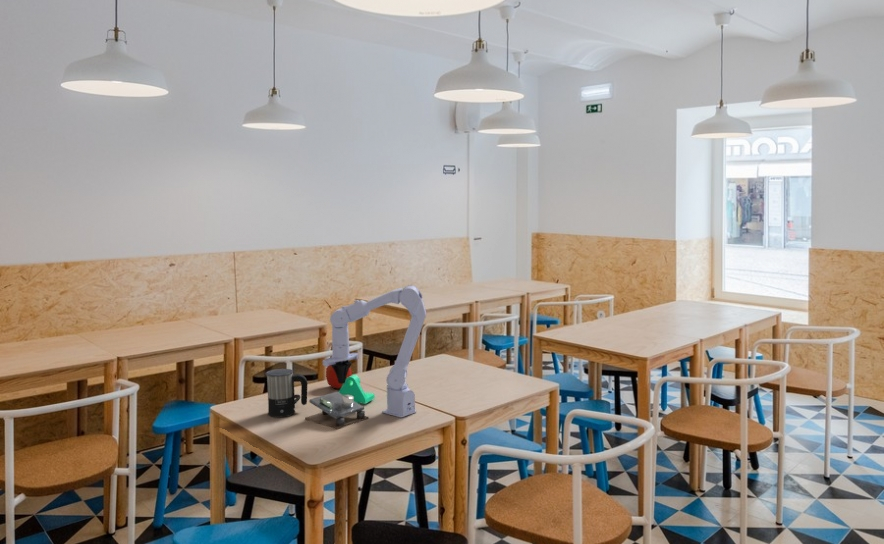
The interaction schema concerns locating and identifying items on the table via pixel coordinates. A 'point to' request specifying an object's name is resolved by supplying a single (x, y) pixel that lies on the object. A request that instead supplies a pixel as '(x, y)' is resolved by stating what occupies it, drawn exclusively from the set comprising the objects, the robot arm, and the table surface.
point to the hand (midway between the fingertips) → (341, 382)
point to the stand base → (333, 420)
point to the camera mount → (355, 390)
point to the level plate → (337, 404)
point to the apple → (334, 377)
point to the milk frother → (284, 392)
